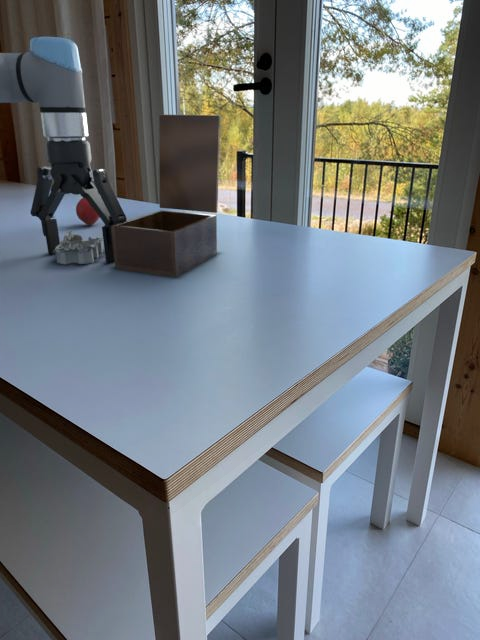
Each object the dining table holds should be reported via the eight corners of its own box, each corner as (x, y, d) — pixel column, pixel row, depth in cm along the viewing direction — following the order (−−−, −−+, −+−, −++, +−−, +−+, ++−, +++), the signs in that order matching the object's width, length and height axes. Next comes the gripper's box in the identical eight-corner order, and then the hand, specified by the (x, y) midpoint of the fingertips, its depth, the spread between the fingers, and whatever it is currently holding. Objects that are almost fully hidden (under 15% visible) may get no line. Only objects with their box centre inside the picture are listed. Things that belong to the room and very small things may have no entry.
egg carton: (72, 250, 97) (69, 230, 95) (108, 251, 97) (106, 231, 95) (50, 264, 87) (47, 243, 86) (91, 265, 87) (88, 243, 85)
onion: (89, 222, 122) (85, 190, 119) (107, 224, 119) (103, 192, 116) (73, 226, 117) (68, 193, 114) (91, 229, 115) (87, 195, 112)
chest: (176, 277, 81) (174, 232, 78) (115, 268, 86) (110, 225, 83) (216, 254, 95) (216, 215, 92) (162, 247, 100) (160, 210, 97)
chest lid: (218, 115, 86) (220, 115, 87) (159, 114, 91) (161, 114, 91) (215, 212, 92) (217, 212, 93) (159, 207, 96) (161, 207, 97)
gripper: (139, 139, 82) (148, 258, 91) (28, 137, 91) (46, 245, 99) (113, 141, 76) (125, 268, 84) (-3, 139, 85) (18, 254, 93)
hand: (82, 256), depth 92 cm, fingers open, 13 cm apart
